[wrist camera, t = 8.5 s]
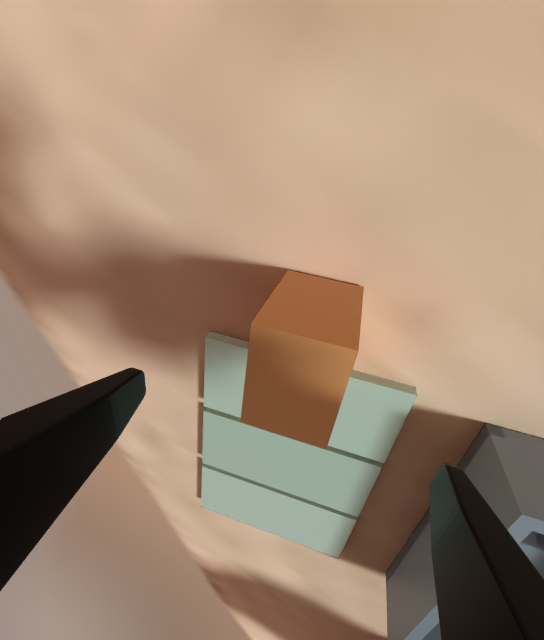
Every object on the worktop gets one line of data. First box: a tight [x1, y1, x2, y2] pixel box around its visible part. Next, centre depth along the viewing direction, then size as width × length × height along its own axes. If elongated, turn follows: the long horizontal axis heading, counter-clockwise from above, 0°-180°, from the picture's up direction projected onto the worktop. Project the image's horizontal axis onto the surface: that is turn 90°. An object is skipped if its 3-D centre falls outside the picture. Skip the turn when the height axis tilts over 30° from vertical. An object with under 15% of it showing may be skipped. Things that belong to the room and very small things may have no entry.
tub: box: [386, 423, 544, 640], centre depth 15 cm, size 14×9×4 cm, turn 173°
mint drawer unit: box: [201, 270, 417, 559], centre depth 15 cm, size 18×10×5 cm, turn 173°
